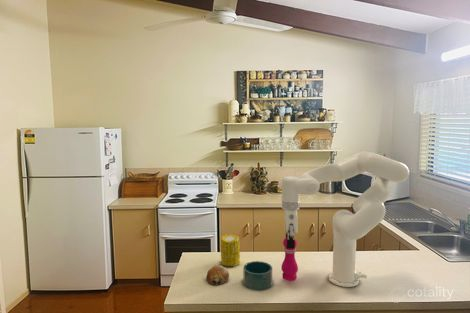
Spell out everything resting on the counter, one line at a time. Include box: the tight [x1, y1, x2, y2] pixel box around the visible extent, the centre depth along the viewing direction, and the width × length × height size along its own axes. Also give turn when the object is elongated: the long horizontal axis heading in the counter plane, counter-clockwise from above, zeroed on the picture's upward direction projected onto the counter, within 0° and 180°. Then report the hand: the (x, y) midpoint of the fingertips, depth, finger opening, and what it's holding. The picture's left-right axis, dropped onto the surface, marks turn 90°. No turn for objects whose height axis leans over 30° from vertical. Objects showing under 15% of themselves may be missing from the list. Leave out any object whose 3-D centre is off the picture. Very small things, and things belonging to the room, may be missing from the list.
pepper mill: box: [281, 234, 299, 282], centre depth 140 cm, size 7×7×20 cm
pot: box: [242, 260, 273, 291], centre depth 140 cm, size 13×13×7 cm
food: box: [220, 234, 241, 267], centre depth 159 cm, size 15×12×10 cm
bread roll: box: [206, 264, 230, 286], centre depth 143 cm, size 10×10×8 cm
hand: (290, 244), depth 140 cm, fingers closed on pepper mill, 6 cm apart
